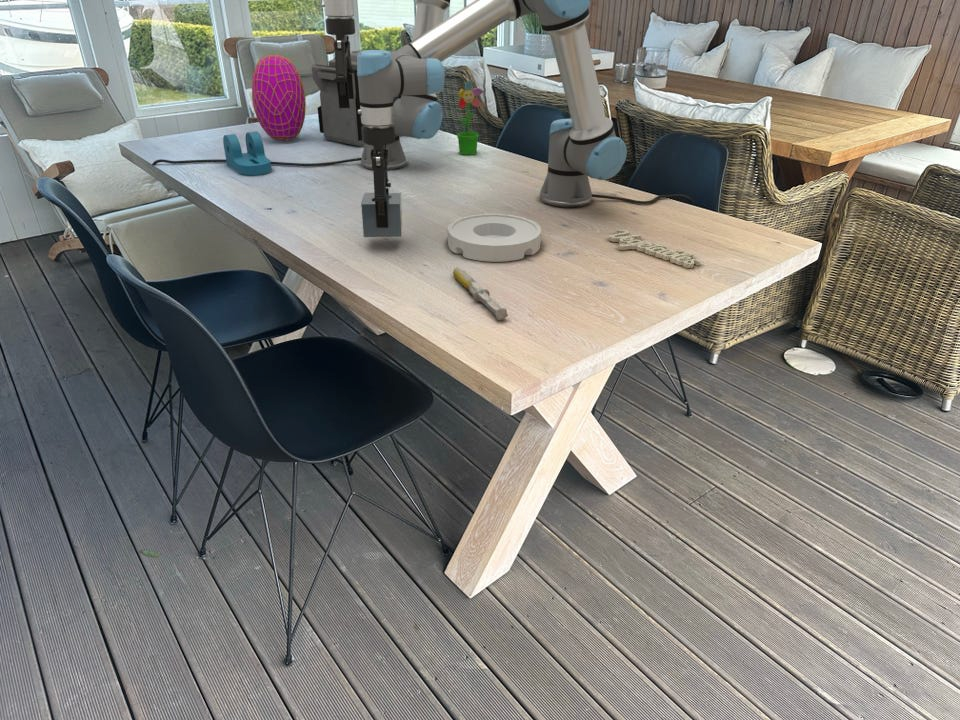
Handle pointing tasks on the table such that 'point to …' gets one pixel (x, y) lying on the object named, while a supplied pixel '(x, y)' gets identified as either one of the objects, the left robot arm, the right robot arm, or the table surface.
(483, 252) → the ashtray
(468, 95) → the potted flower
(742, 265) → the table surface
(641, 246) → the decorative sign
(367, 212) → the block
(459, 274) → the syringe
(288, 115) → the decorative egg
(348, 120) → the electronic device
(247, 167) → the camera mount
